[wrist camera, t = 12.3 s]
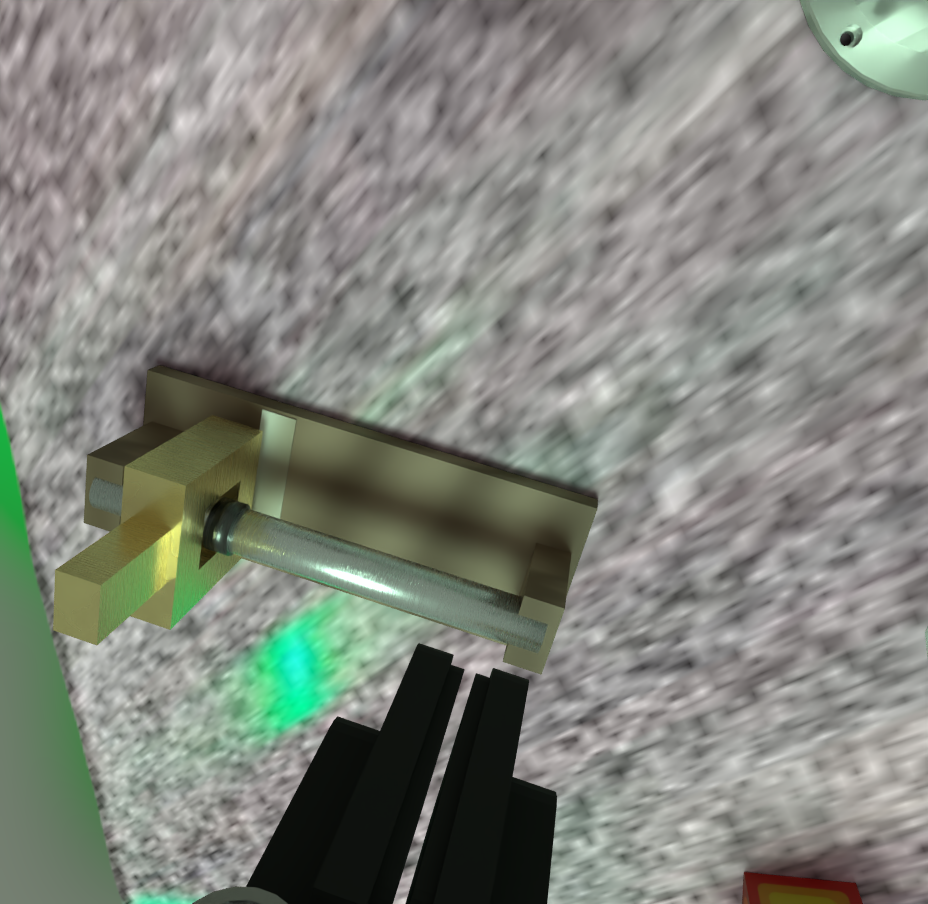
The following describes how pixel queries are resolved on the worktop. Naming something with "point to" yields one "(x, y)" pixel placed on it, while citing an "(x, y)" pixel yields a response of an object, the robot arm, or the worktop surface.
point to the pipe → (355, 569)
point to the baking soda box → (796, 890)
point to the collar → (159, 534)
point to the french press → (927, 640)
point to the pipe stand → (380, 496)
